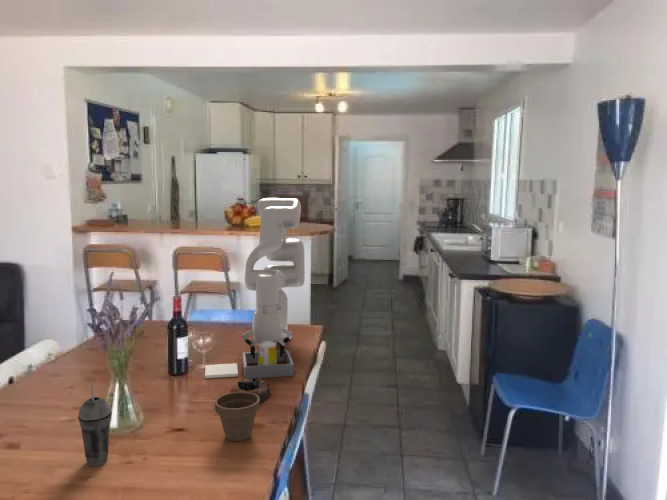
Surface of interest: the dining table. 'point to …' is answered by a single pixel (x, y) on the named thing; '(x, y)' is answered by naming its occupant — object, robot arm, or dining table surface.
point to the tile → (221, 370)
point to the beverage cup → (95, 429)
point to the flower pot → (237, 414)
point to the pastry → (253, 388)
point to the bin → (268, 366)
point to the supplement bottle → (267, 353)
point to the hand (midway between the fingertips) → (267, 356)
